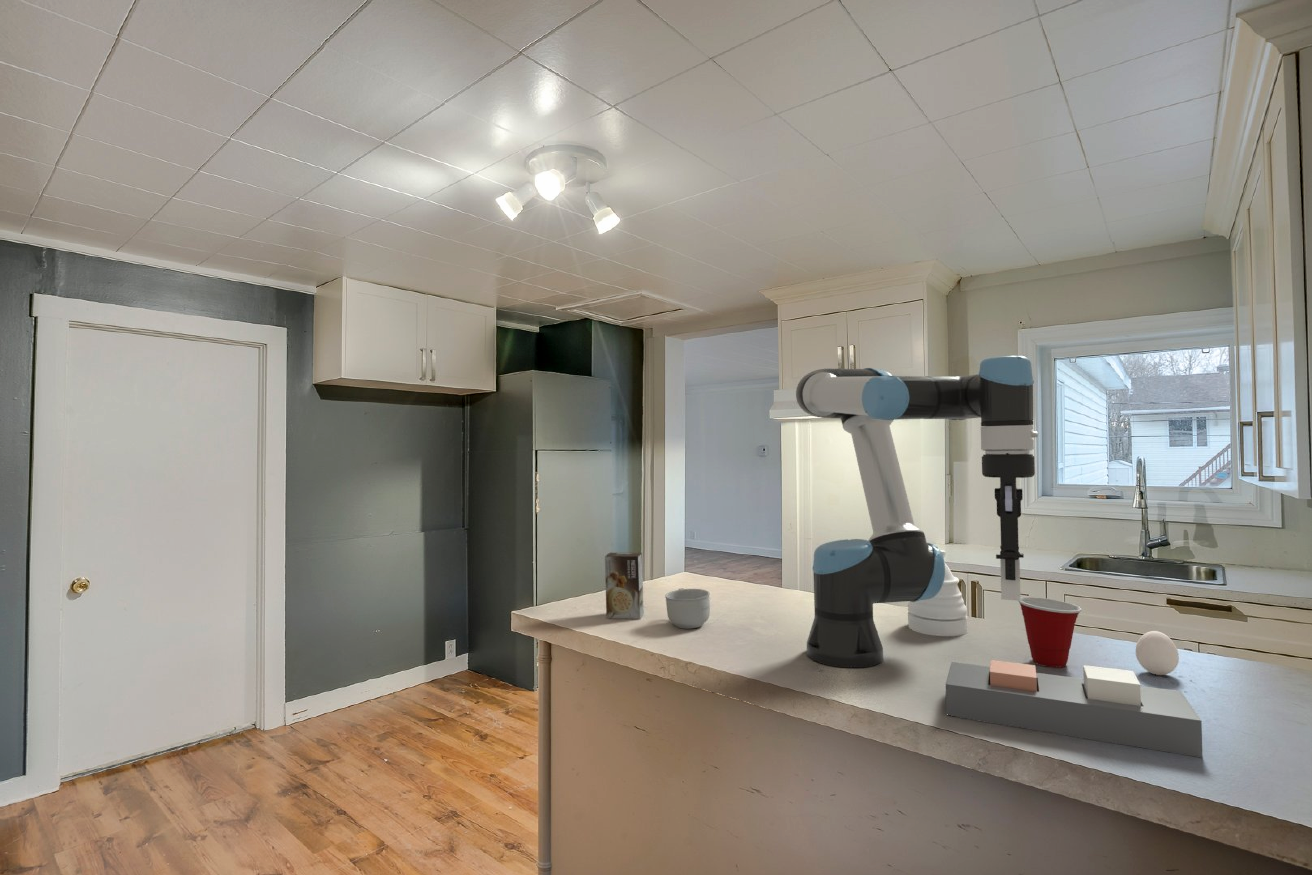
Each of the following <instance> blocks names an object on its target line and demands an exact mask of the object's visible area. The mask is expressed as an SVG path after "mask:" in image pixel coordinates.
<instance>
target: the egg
mask: <svg viewBox="0 0 1312 875" xmlns="http://www.w3.org/2000/svg"><path fill="white" fill-rule="evenodd" d="M1135 657H1136V659H1137V661H1138V664H1140V666H1141V667H1142V668H1143V669H1144V670H1146V671H1147V672H1148V673H1150V674H1153V675H1155V674H1156V675H1155V676H1166V675H1168V674H1171V673H1172V672H1174V671H1175V669H1176V668H1177V667H1178V665H1179V660H1180V656H1179V651H1178V648H1177V646H1176V645H1175V643H1174V642H1173V639H1171V638H1170V637H1169V636H1168V635H1166V634H1165V633H1163V632H1160V631H1158V630H1152V631H1151V630H1150V631H1147V632H1146V633H1144V634H1143V635H1141V636H1140V638H1139V639H1138V641H1137V642H1136V646H1135Z"/></svg>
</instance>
